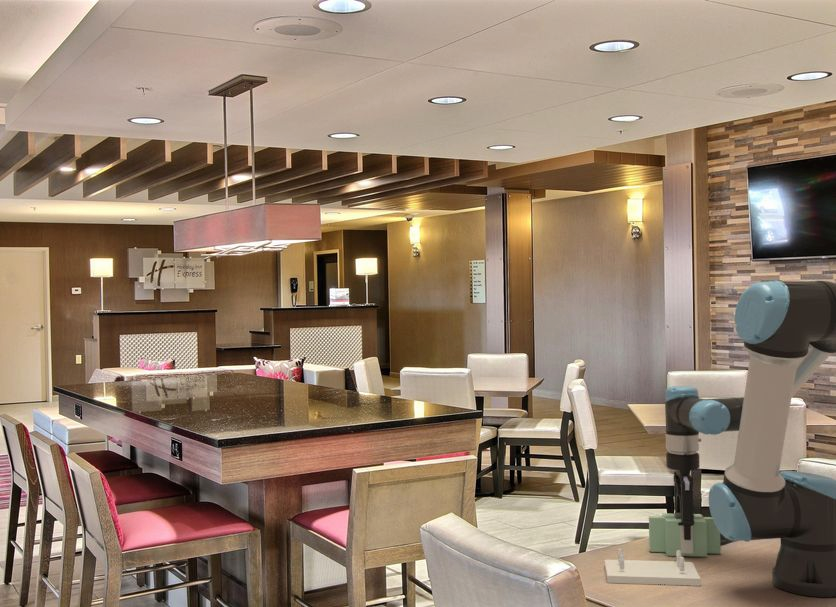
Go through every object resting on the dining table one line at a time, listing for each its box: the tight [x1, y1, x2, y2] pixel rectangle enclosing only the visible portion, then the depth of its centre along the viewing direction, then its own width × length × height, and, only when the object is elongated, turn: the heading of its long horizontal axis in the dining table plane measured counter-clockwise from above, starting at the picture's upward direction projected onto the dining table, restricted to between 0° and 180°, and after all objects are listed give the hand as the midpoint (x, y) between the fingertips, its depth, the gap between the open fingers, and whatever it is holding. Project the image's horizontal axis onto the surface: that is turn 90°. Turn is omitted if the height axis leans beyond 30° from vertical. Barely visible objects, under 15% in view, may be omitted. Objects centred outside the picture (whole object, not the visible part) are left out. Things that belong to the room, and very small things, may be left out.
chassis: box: [604, 548, 702, 587], centre depth 192 cm, size 19×12×5 cm, turn 81°
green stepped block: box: [648, 512, 721, 558], centre depth 209 cm, size 16×8×9 cm, turn 81°
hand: (684, 547), depth 209 cm, fingers closed on green stepped block, 8 cm apart
